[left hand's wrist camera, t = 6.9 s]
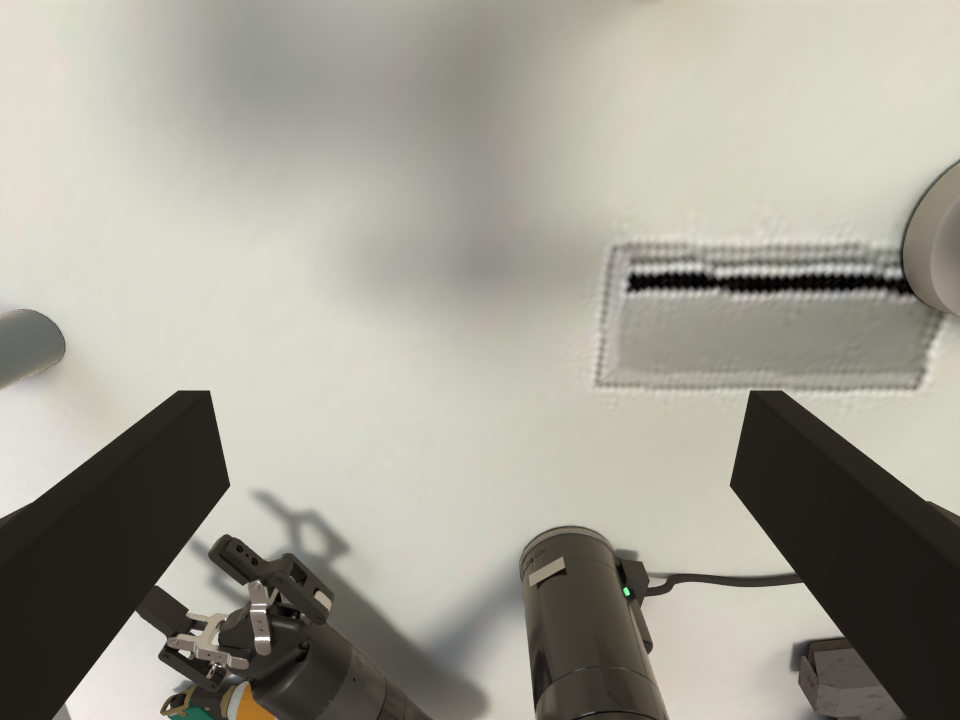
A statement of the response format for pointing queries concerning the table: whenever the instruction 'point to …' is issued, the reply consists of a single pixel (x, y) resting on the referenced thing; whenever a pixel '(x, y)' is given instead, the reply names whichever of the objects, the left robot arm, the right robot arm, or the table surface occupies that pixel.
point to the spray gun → (215, 705)
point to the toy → (844, 684)
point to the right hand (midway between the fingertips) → (178, 570)
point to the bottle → (27, 345)
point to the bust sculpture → (936, 246)
